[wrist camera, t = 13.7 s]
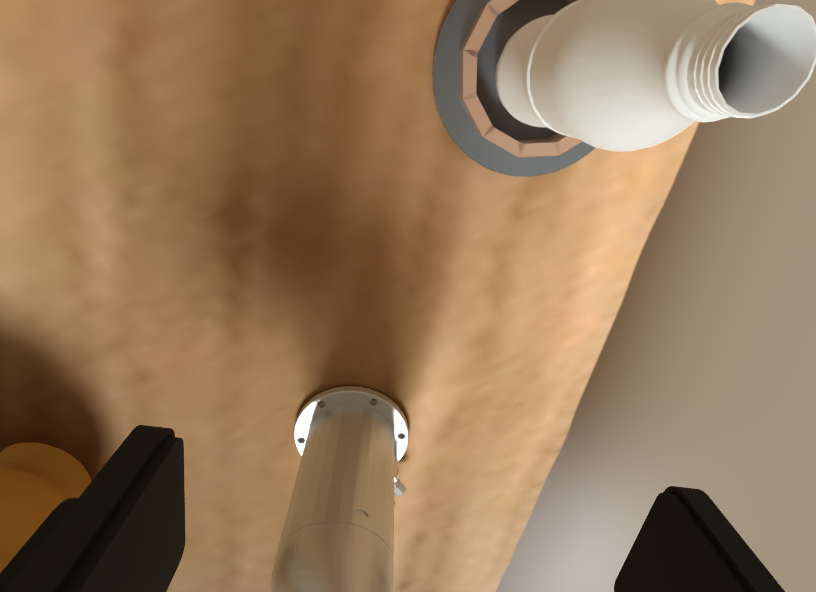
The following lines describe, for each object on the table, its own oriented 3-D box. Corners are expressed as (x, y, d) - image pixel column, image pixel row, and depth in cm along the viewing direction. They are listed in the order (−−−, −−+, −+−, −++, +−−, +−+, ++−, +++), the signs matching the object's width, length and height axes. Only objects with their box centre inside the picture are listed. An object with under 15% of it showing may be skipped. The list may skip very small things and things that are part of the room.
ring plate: (661, 106, 38) (685, 108, 35) (490, 208, 41) (498, 219, 38) (585, -103, 32) (606, -123, 29) (394, 36, 36) (393, 32, 32)
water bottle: (512, 140, 38) (678, 227, 15) (473, 54, 35) (607, 8, 13) (594, 93, 37) (911, 112, 14) (561, 0, 34) (886, -161, 11)
